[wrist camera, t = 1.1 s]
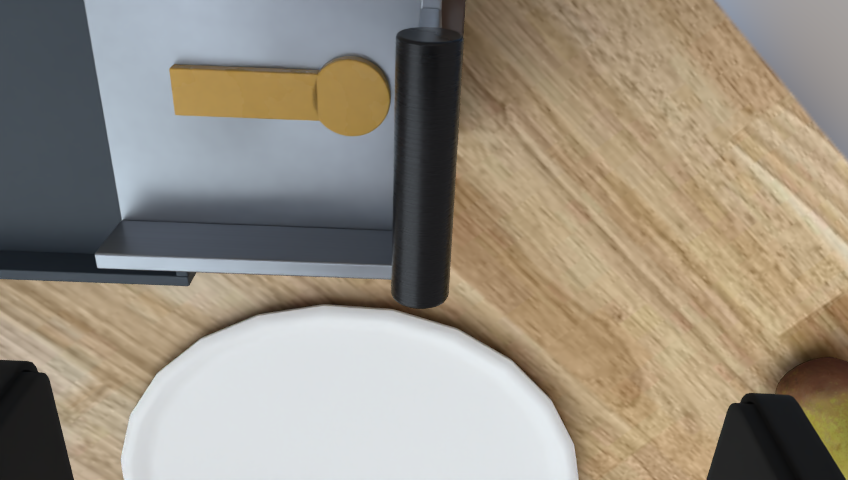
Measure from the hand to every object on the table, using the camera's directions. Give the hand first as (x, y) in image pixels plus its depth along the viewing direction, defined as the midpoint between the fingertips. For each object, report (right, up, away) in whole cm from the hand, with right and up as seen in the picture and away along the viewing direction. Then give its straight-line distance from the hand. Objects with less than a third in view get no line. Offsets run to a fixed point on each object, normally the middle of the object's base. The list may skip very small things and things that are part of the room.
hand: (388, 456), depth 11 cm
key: (-4, +8, +15) cm, 17 cm away
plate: (-4, -13, +39) cm, 41 cm away
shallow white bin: (-4, +8, +15) cm, 18 cm away
